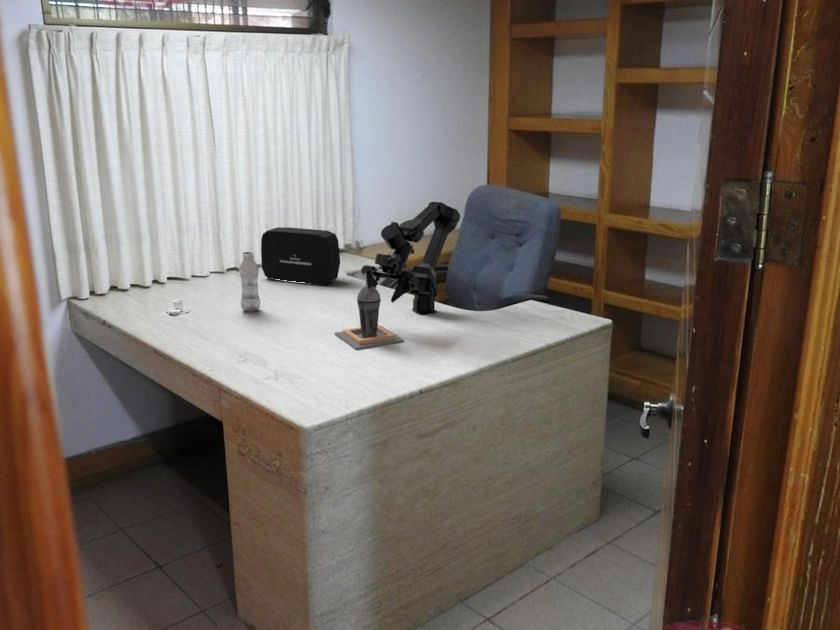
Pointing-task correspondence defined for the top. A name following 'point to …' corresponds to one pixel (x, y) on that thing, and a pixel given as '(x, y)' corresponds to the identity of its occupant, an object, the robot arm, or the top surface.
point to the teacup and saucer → (177, 306)
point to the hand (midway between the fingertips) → (379, 299)
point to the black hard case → (300, 255)
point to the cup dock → (359, 342)
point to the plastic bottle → (249, 283)
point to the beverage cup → (368, 310)
